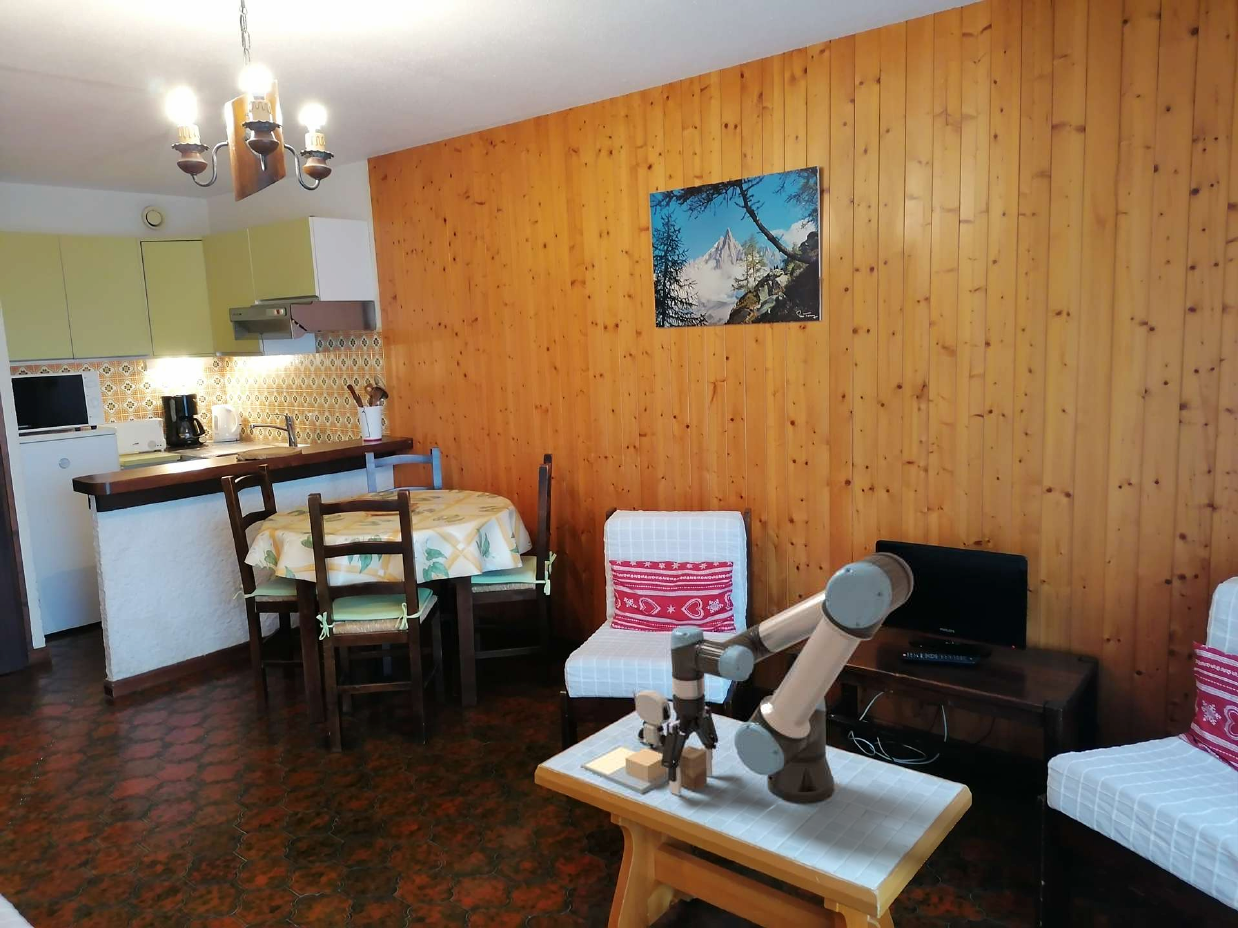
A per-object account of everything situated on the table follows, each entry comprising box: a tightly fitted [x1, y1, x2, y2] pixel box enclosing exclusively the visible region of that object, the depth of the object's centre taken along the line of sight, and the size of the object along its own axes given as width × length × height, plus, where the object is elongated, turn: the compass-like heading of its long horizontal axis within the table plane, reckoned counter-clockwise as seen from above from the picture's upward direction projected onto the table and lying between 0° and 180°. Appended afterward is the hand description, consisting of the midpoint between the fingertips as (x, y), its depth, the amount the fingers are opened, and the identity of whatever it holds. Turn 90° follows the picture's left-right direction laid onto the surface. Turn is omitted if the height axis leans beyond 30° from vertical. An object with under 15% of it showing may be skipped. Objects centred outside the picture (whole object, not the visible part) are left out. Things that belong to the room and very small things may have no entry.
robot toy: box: [631, 689, 672, 749], centre depth 225 cm, size 12×4×15 cm, turn 44°
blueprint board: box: [580, 745, 669, 795], centre depth 213 cm, size 20×14×5 cm
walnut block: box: [678, 745, 708, 793], centre depth 205 cm, size 5×5×8 cm
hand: (691, 783), depth 205 cm, fingers open, 11 cm apart
